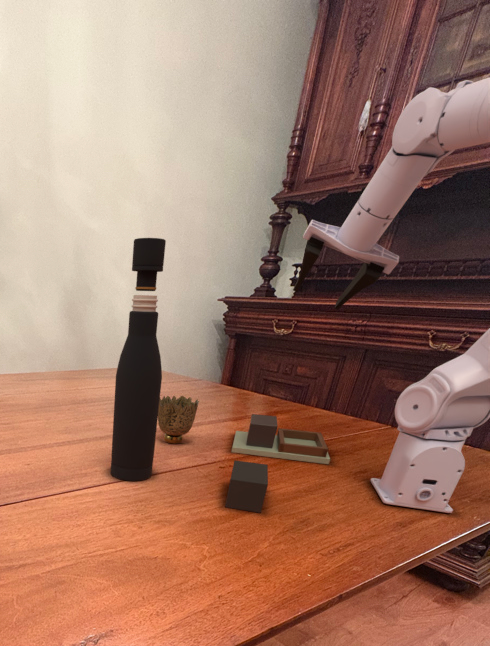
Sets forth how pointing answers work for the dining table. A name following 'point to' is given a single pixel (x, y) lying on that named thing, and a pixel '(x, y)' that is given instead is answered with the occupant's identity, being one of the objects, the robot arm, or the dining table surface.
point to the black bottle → (139, 372)
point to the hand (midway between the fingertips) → (316, 297)
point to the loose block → (247, 486)
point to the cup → (176, 417)
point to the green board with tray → (280, 442)
